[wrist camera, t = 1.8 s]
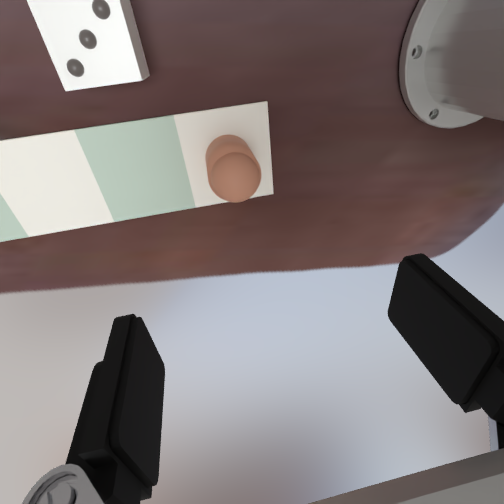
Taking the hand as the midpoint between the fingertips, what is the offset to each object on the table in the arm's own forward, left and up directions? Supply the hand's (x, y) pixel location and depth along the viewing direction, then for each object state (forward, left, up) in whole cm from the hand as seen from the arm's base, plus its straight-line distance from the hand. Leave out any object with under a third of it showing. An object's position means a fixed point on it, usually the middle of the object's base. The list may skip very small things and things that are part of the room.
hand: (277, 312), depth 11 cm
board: (+11, 0, -18) cm, 22 cm away
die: (+7, -9, -19) cm, 22 cm away
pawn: (0, 0, -18) cm, 18 cm away
